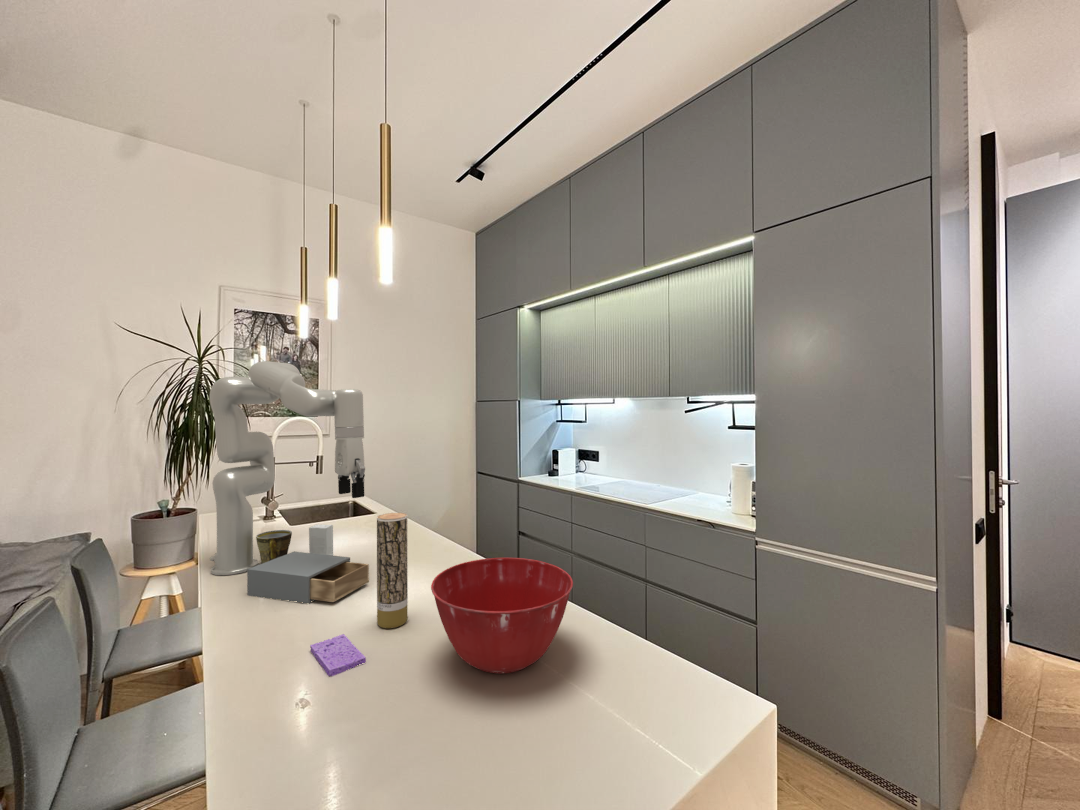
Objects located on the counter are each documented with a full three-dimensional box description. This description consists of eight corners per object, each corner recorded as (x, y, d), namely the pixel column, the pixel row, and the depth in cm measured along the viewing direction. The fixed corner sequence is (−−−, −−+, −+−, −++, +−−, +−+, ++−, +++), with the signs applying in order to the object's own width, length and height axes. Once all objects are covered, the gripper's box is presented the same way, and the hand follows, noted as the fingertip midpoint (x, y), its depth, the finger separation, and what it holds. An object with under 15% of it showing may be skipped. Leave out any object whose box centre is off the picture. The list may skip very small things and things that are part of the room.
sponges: (344, 642, 102) (344, 633, 102) (366, 665, 92) (366, 656, 92) (309, 653, 97) (309, 644, 97) (329, 679, 87) (329, 669, 87)
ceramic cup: (258, 562, 152) (258, 531, 152) (292, 558, 156) (292, 528, 156) (252, 575, 140) (252, 542, 140) (290, 570, 144) (290, 538, 144)
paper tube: (398, 631, 105) (398, 520, 105) (371, 628, 107) (370, 518, 107) (412, 617, 112) (412, 513, 112) (386, 615, 113) (386, 512, 113)
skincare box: (333, 561, 153) (333, 524, 153) (326, 565, 149) (326, 527, 149) (316, 560, 154) (316, 524, 154) (308, 564, 150) (308, 527, 150)
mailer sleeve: (247, 595, 126) (247, 569, 126) (294, 574, 141) (294, 551, 141) (308, 604, 120) (308, 576, 120) (350, 581, 135) (350, 557, 135)
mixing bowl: (596, 642, 100) (595, 570, 100) (524, 719, 75) (523, 623, 75) (489, 613, 114) (489, 549, 114) (400, 670, 90) (399, 589, 90)
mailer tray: (274, 593, 124) (273, 574, 124) (313, 575, 138) (313, 558, 138) (333, 602, 119) (333, 582, 119) (368, 582, 132) (368, 564, 132)
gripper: (324, 434, 134) (326, 494, 134) (347, 435, 121) (349, 501, 121) (351, 432, 139) (352, 490, 139) (375, 433, 126) (377, 496, 126)
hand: (351, 495), depth 130 cm, fingers open, 9 cm apart
